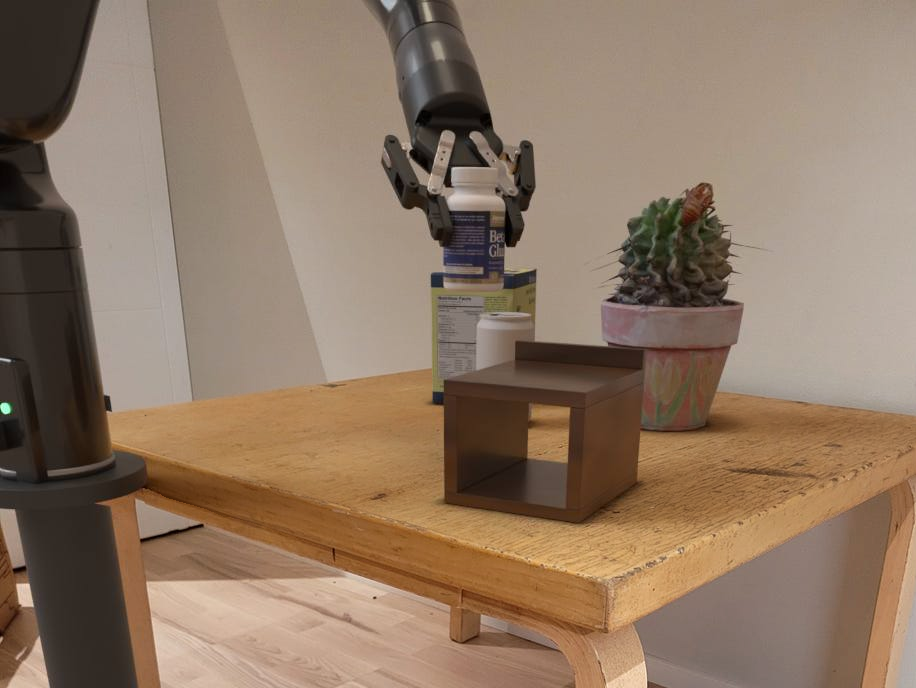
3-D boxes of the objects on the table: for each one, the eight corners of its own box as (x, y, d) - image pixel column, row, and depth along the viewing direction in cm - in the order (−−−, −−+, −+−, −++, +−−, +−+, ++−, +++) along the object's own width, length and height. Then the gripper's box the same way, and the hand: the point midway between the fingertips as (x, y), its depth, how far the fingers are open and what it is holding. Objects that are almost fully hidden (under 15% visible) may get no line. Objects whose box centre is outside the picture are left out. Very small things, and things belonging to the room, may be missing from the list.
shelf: (578, 523, 74) (586, 370, 70) (444, 502, 79) (443, 358, 75) (636, 482, 86) (646, 348, 81) (515, 467, 91) (518, 339, 86)
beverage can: (490, 416, 114) (491, 309, 109) (540, 421, 111) (543, 312, 106) (466, 425, 108) (466, 314, 103) (517, 431, 106) (520, 317, 101)
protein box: (534, 388, 132) (538, 267, 126) (512, 408, 118) (515, 273, 112) (460, 385, 134) (460, 265, 128) (430, 404, 120) (428, 271, 114)
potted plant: (656, 400, 124) (673, 187, 113) (775, 427, 109) (807, 184, 98) (544, 414, 114) (552, 183, 104) (657, 446, 100) (679, 180, 89)
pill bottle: (499, 293, 82) (501, 166, 78) (437, 291, 83) (436, 166, 79) (508, 288, 87) (510, 169, 83) (450, 287, 88) (449, 169, 84)
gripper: (369, 51, 82) (406, 204, 76) (526, 61, 86) (572, 207, 80) (358, 126, 88) (392, 272, 83) (505, 131, 93) (546, 271, 87)
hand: (481, 239), depth 82 cm, fingers closed on pill bottle, 5 cm apart
